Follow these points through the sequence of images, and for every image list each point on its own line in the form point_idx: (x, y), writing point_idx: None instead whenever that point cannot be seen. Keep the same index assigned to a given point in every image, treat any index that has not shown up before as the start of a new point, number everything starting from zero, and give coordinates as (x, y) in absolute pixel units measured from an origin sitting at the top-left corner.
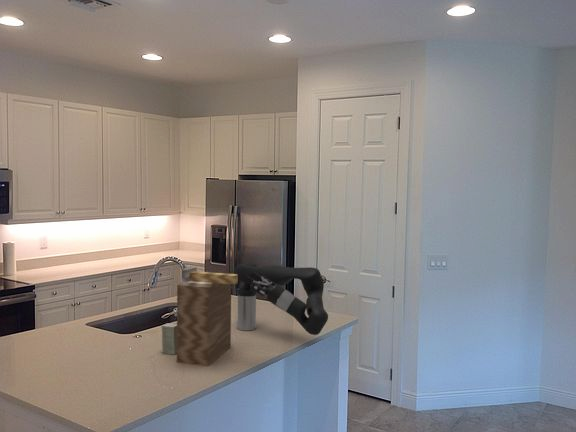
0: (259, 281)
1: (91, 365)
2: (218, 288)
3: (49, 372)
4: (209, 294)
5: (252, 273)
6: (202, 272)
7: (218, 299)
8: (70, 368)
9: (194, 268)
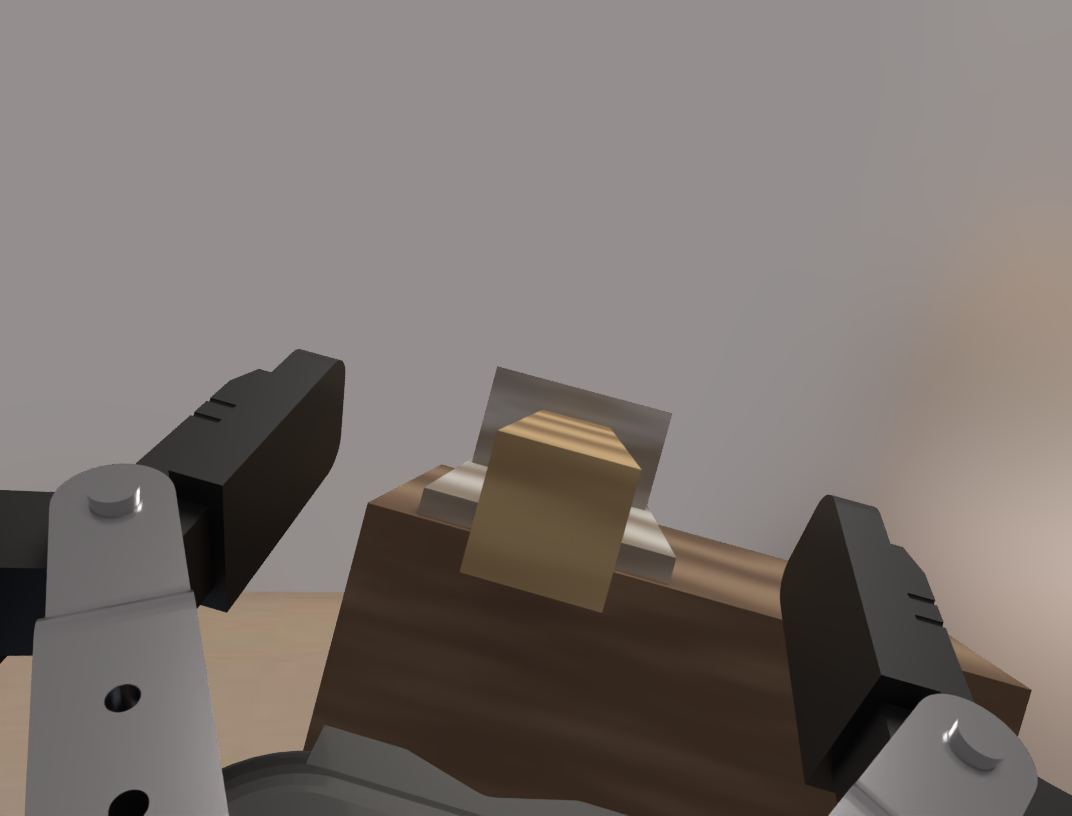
0: (190, 594)
1: (281, 709)
2: (605, 635)
3: (225, 641)
4: (356, 580)
5: (816, 524)
6: (584, 425)
7: (573, 760)
8: (256, 672)
9: (629, 411)
